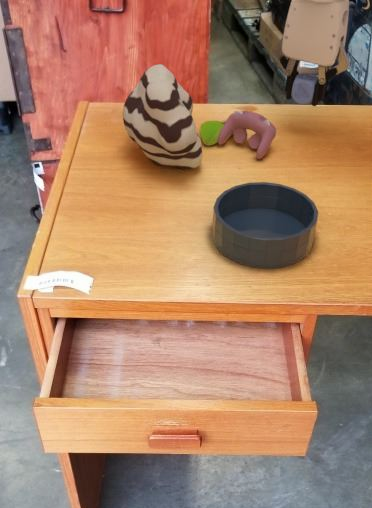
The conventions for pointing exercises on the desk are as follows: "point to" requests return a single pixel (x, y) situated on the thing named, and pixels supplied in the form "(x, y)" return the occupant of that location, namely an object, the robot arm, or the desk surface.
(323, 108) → the desk surface
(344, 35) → the robot arm
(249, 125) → the video game controller
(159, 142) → the sculpture
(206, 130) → the decorative leaf
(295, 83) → the decorative dice
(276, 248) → the basin
